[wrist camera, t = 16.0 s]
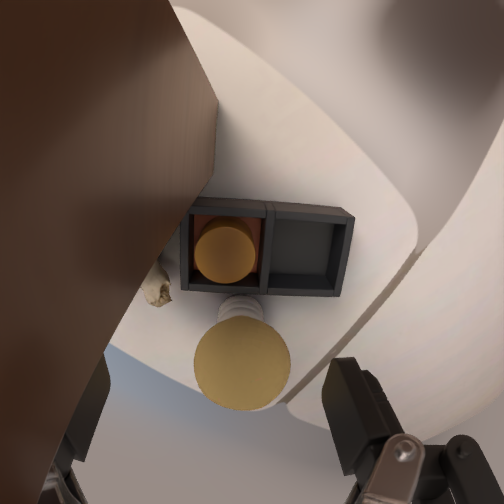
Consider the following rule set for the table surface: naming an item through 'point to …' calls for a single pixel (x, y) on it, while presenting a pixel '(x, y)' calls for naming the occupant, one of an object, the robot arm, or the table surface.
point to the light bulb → (241, 357)
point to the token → (225, 250)
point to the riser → (84, 197)
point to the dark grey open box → (274, 247)
